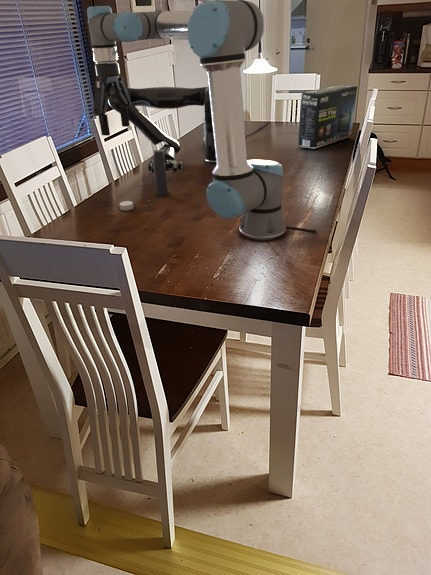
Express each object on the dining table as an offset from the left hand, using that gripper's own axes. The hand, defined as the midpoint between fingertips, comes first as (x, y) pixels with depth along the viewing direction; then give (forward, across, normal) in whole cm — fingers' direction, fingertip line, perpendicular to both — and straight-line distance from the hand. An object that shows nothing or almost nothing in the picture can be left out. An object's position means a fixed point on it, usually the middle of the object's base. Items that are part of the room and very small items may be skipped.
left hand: (164, 170), depth 189 cm
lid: (+24, -13, +5) cm, 27 cm away
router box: (-61, +81, +7) cm, 101 cm away
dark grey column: (+10, 0, +7) cm, 12 cm away
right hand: (+24, -13, -22) cm, 34 cm away
